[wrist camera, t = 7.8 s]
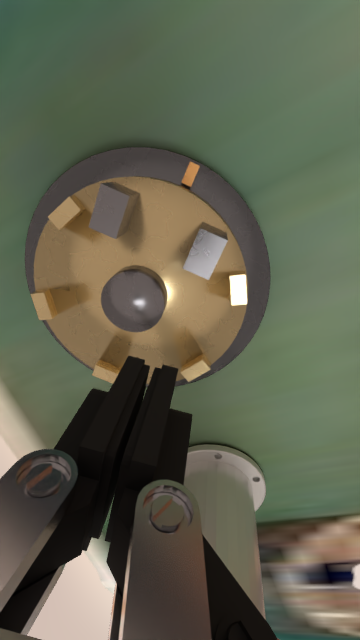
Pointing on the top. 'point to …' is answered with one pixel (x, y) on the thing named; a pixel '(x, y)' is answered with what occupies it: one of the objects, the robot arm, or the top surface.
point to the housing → (192, 178)
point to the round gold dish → (140, 277)
